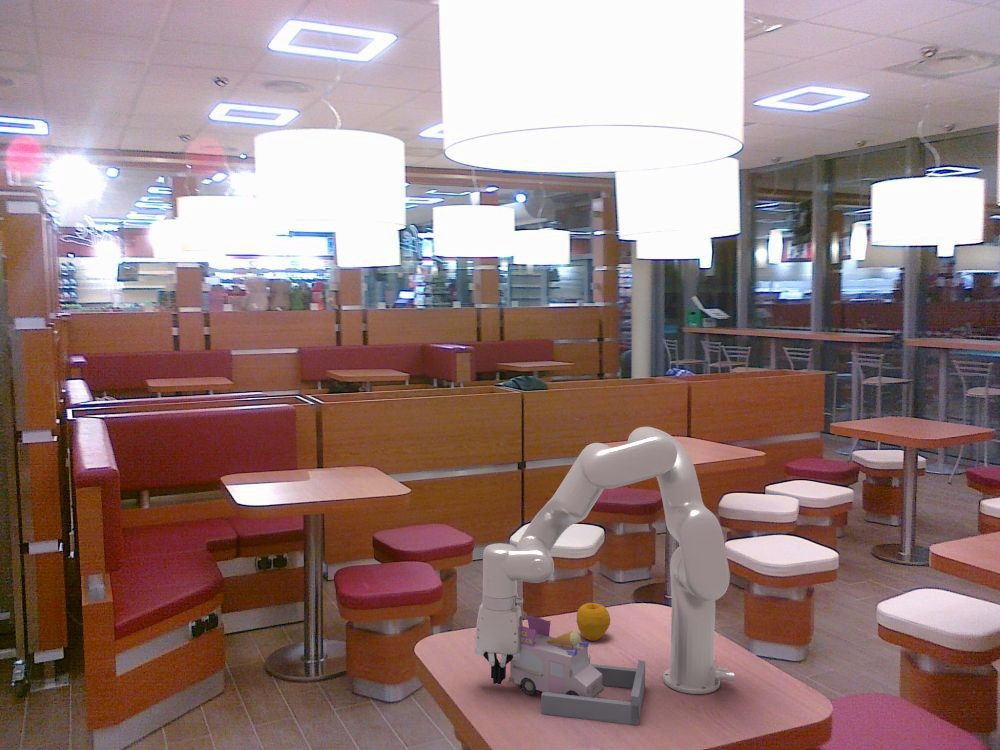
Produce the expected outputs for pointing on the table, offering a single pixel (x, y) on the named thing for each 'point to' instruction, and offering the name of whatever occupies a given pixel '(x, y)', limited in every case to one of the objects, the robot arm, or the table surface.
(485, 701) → the table surface
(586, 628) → the apple
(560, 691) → the toy vehicle
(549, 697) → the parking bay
